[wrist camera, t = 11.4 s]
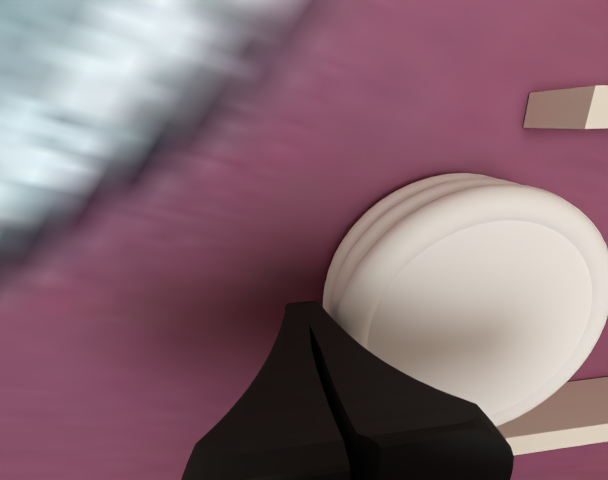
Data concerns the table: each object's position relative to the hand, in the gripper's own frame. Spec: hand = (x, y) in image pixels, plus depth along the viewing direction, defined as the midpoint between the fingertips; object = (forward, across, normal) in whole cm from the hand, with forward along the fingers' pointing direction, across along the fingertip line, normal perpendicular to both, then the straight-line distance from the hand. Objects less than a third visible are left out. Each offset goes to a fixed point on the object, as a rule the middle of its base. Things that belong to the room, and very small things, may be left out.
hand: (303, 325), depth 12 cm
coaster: (+2, -6, 0) cm, 6 cm away
